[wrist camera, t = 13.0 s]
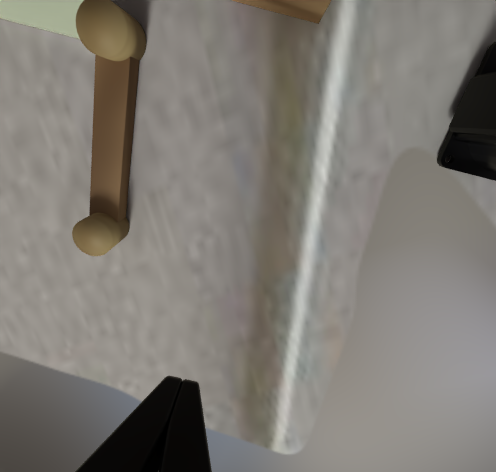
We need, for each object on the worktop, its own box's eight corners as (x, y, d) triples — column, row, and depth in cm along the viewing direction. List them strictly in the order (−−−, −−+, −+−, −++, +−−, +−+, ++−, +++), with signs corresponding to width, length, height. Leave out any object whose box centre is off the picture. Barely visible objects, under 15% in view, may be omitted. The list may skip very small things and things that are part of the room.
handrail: (148, 20, 16) (128, 3, 14) (127, 244, 21) (110, 260, 19) (104, 8, 16) (76, -11, 14) (93, 236, 21) (72, 251, 18)
